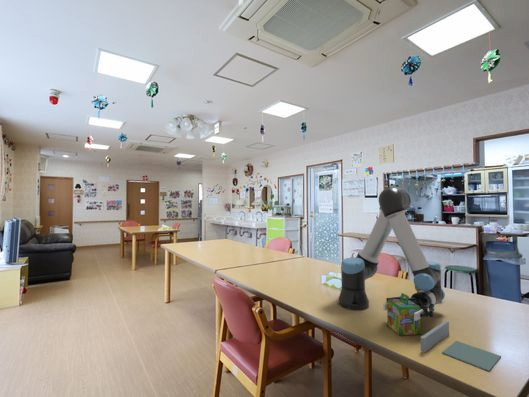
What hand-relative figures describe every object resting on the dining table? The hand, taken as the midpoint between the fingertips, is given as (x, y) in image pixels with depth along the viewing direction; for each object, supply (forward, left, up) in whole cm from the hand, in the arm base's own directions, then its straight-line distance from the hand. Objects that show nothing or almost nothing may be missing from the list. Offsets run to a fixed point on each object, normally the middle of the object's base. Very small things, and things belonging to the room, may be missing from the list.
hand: (398, 311), depth 109 cm
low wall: (+12, +4, -8) cm, 15 cm away
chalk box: (0, +4, -9) cm, 9 cm away
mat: (+23, +4, -8) cm, 25 cm away
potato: (-10, +52, -9) cm, 53 cm away
